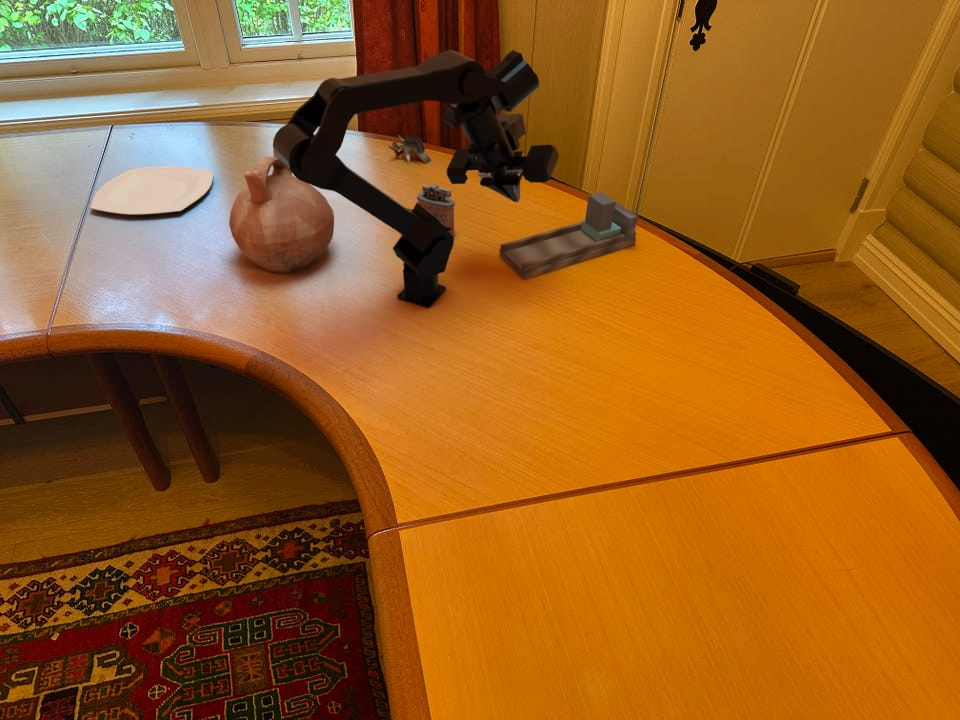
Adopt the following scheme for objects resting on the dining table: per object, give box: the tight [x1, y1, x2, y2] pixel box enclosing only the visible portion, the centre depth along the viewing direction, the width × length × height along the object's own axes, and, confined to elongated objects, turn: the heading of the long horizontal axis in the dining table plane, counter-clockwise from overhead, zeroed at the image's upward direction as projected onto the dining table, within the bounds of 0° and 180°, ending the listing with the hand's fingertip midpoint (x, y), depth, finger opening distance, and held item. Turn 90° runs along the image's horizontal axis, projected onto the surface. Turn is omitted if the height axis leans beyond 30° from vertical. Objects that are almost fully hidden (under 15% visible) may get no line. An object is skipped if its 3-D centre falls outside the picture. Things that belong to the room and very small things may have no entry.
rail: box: [498, 196, 639, 280], centre depth 116 cm, size 26×9×6 cm, turn 119°
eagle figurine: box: [388, 135, 432, 164], centre depth 147 cm, size 8×7×9 cm
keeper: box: [581, 191, 621, 241], centre depth 117 cm, size 5×6×8 cm
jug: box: [228, 149, 335, 274], centre depth 108 cm, size 18×18×20 cm
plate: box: [89, 165, 214, 216], centre depth 132 cm, size 23×23×2 cm
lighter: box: [416, 183, 456, 238], centre depth 119 cm, size 8×3×10 cm, turn 62°
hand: (517, 200), depth 106 cm, fingers closed
